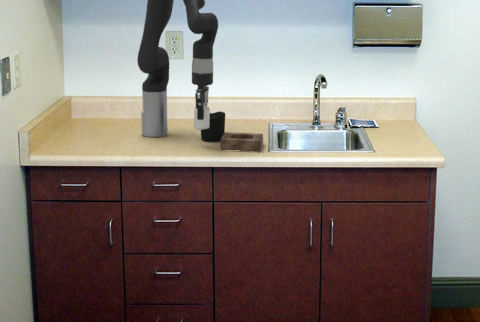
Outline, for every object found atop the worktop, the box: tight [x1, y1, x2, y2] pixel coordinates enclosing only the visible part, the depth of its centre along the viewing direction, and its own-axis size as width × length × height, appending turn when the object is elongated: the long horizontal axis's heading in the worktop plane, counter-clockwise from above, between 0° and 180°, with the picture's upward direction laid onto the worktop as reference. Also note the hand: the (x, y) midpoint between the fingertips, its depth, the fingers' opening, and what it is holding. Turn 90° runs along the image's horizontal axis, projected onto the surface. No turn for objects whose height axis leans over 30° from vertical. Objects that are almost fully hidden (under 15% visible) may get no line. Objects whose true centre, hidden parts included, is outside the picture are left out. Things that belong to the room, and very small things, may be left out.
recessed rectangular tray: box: [220, 131, 264, 152], centre depth 279 cm, size 14×11×4 cm
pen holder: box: [200, 111, 226, 143], centre depth 289 cm, size 9×9×10 cm
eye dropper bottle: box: [193, 103, 211, 131], centre depth 277 cm, size 4×6×12 cm
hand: (201, 117), depth 277 cm, fingers closed on eye dropper bottle, 4 cm apart
